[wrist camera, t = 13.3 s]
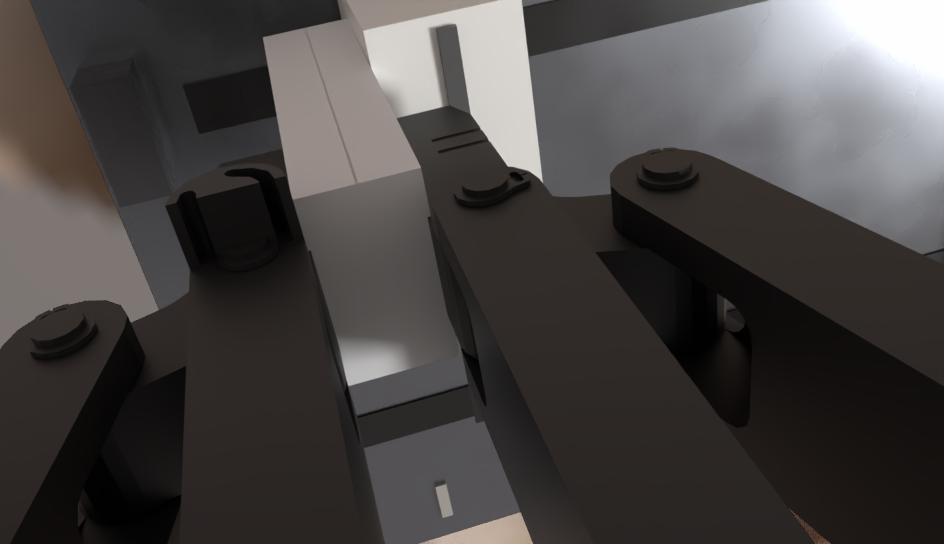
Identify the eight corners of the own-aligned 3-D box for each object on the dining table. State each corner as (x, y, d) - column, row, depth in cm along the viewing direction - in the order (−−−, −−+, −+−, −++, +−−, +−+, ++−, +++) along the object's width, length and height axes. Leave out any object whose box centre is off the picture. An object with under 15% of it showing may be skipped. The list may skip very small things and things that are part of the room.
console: (271, 532, 26) (277, 618, 23) (3, -134, 16) (-36, -113, 13) (939, 332, 28) (1009, 388, 26) (1057, -333, 19) (1187, -345, 16)
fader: (375, 168, 18) (414, 265, 15) (331, -28, 16) (364, 32, 13) (486, 141, 18) (549, 230, 15) (457, -55, 16) (523, -3, 13)
